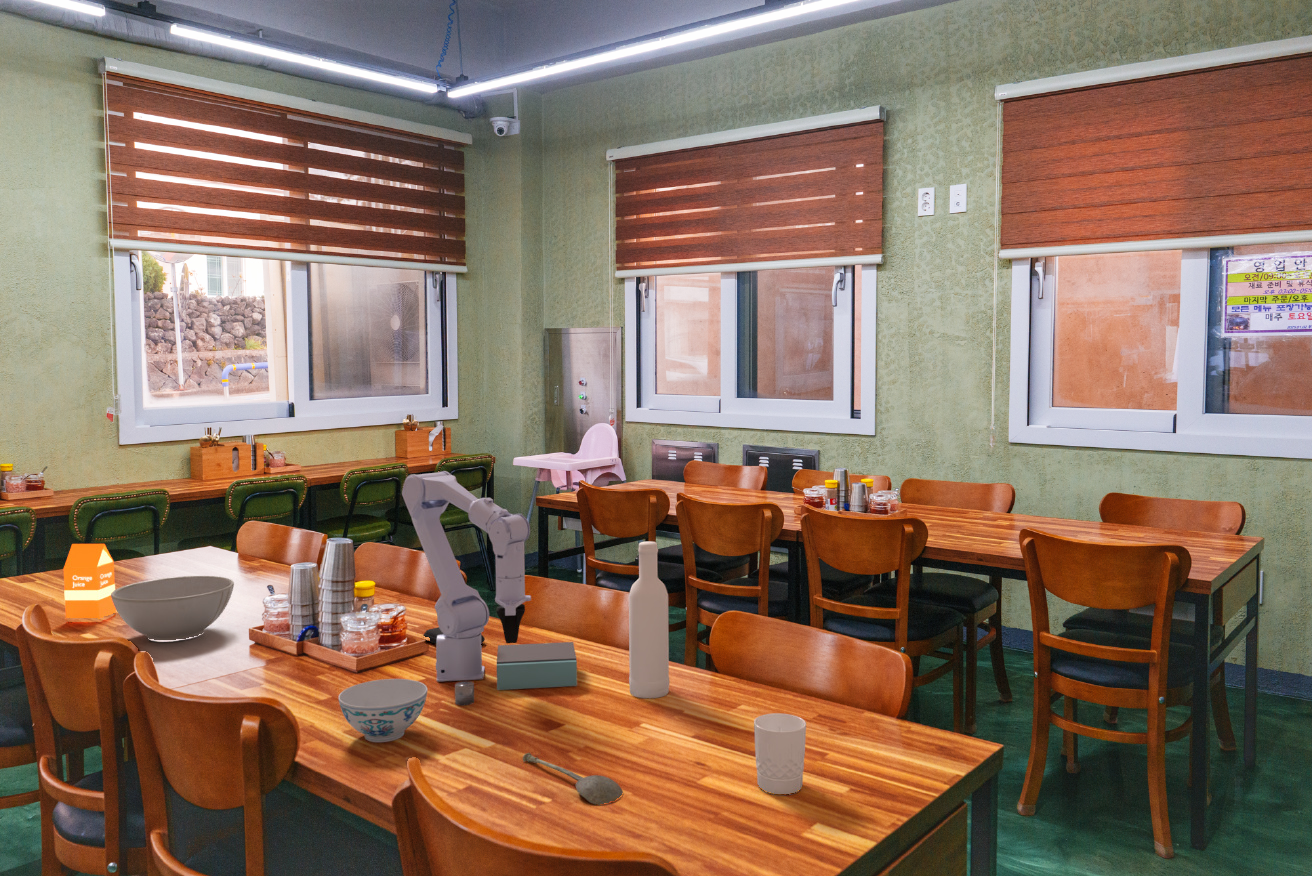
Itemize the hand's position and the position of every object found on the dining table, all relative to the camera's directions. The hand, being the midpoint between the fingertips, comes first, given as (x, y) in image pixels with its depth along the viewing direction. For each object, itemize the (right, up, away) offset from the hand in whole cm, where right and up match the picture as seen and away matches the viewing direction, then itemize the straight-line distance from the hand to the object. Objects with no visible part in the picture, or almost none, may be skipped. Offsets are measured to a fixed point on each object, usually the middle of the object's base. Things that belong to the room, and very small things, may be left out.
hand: (511, 642), depth 192 cm
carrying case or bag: (-19, -8, +34) cm, 40 cm away
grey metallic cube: (-8, -10, -8) cm, 15 cm away
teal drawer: (+4, -9, +6) cm, 11 cm away
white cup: (+48, -12, -46) cm, 68 cm away
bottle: (+28, -10, -3) cm, 29 cm away
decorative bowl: (-89, -8, +42) cm, 98 cm away
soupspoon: (+16, -13, -43) cm, 48 cm away
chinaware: (-19, -11, -24) cm, 33 cm away
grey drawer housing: (+4, -9, +7) cm, 12 cm away
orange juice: (-119, -7, +58) cm, 133 cm away
